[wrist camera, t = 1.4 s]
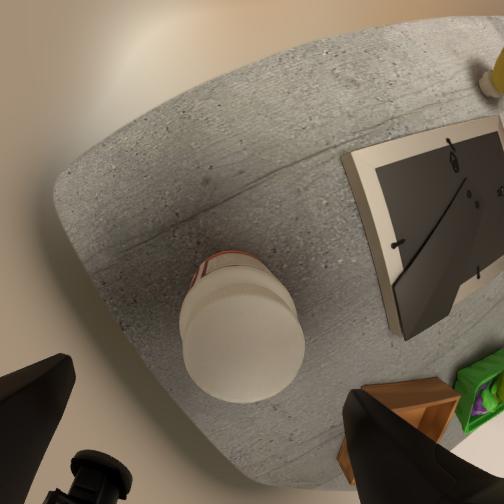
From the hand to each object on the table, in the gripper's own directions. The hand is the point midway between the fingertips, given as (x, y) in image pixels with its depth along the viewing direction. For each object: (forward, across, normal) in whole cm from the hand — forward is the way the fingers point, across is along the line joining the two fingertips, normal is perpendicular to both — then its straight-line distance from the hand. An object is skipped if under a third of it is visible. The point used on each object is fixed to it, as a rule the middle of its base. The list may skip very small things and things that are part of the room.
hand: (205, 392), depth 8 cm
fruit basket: (+16, -31, +12) cm, 37 cm away
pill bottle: (+15, 0, +3) cm, 15 cm away
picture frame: (+18, -20, -6) cm, 28 cm away
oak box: (+14, -18, +16) cm, 28 cm away
